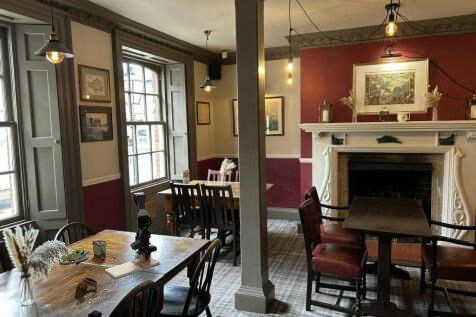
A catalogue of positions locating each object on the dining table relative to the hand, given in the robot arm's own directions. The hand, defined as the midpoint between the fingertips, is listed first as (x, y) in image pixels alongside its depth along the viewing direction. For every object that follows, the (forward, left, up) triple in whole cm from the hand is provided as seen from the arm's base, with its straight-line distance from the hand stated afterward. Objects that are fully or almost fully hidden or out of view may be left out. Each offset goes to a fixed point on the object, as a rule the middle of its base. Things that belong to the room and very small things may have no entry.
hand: (145, 260), depth 207 cm
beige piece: (0, 0, -2) cm, 2 cm away
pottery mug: (+12, -40, -3) cm, 42 cm away
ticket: (0, -14, -2) cm, 14 cm away
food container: (-31, -14, -2) cm, 34 cm away
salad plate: (-42, -27, -3) cm, 50 cm away
